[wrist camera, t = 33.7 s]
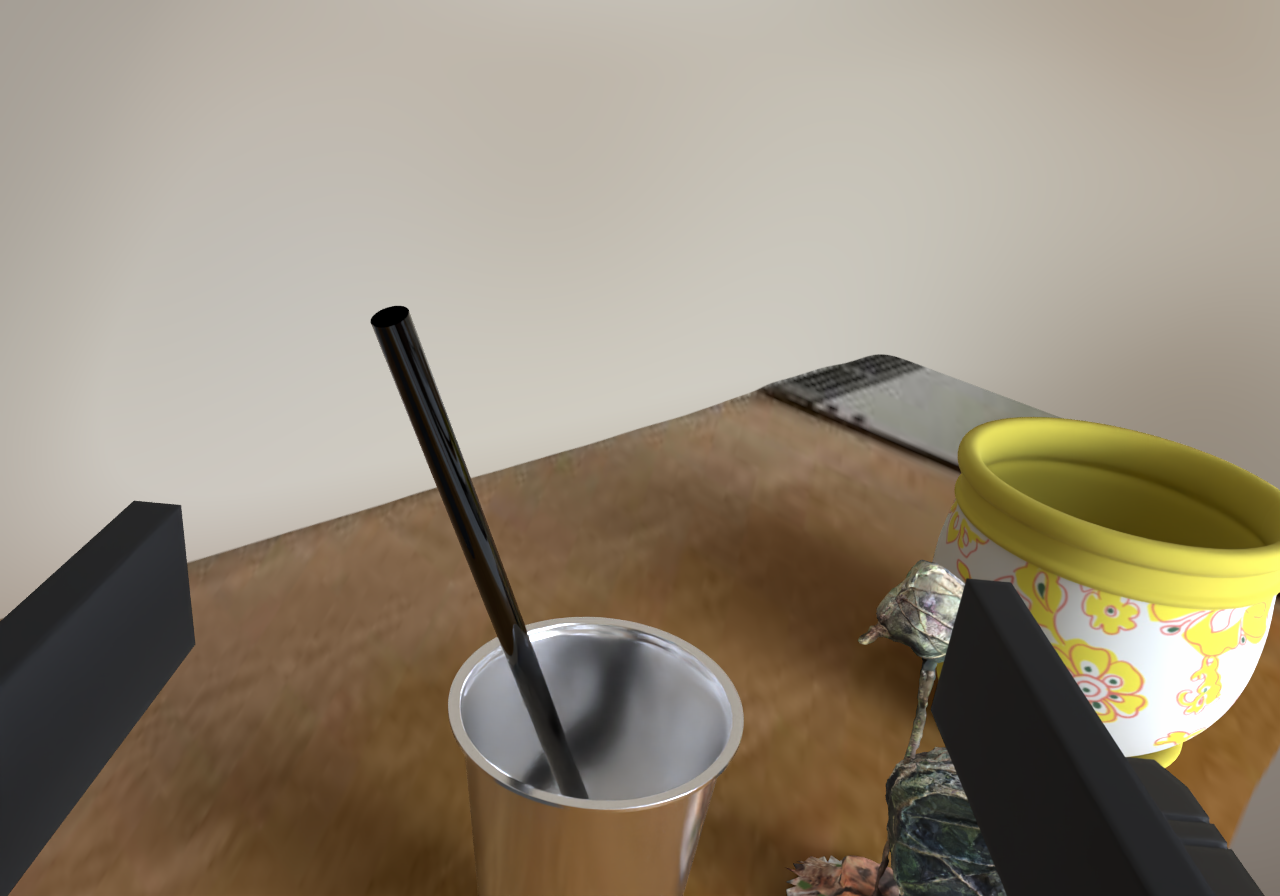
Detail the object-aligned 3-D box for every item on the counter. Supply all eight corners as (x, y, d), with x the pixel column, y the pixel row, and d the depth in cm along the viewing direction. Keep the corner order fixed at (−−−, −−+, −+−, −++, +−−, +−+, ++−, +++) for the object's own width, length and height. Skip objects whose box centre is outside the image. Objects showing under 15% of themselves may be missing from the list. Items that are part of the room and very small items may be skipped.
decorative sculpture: (999, 1102, 37) (1162, 676, 29) (741, 943, 42) (818, 547, 34) (1046, 955, 43) (1189, 573, 35) (816, 833, 49) (896, 478, 41)
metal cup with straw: (382, 1154, 33) (365, 312, 21) (453, 888, 43) (469, 222, 32) (693, 1187, 33) (851, 362, 21) (691, 913, 43) (795, 256, 32)
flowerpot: (914, 783, 53) (985, 519, 46) (893, 610, 69) (944, 398, 63) (1261, 852, 50) (1388, 585, 44) (1155, 657, 67) (1235, 441, 60)
